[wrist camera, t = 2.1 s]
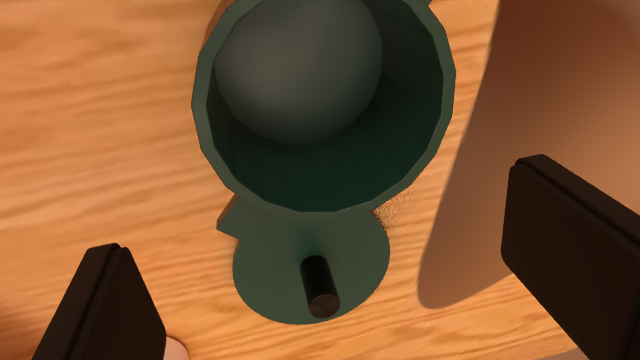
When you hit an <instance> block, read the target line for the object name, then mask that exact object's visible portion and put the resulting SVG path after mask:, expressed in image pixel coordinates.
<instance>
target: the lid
mask: <svg viewBox="0 0 640 360" xmlns="http://www.w3.org/2000/svg"><path fill="white" fill-rule="evenodd" d="M389 257H390V246H389V240H388V237H387V234H386V231H385V230H384V228H383V226H382V224H381V222H380V221H379V220H378V218H377V217H376V216H375V215H374V214H373V213H372V212H371V211H368V212H365V213H362V214H359V215H356V216H353V217H350V218H346V219H343V220H340V221H334V222H295V221H292V220H288V219H285V218H282V217H278V216H275V215H274V216H273V217H272V219H271V220H270V221H269V223H268V224H267V225H266V227H265V228H264V230H263V231H262V232H261V234H260V235H259V236H258V238H257V239H256V240H255V242H254V243H253V244H252V245H250V244H248V243H246V242H244V241H241V240H239V242H238V244H237V247H236V249H235V253H234V257H233V279H234V283H235V287H236V289H237V291H238V293H239V295H240V296H241V298H242V299H243V301H244V302H245V303H246V304H247V305H248V306H249V307H250V308H251V309H252V310H254V311H255V312H256V313H258V314H260V315H261V316H263V317H266V318H268V319H270V320H273V321H277V322H280V323H286V324H296V325H303V324H314V323H320V322H324V321H328V320H331V319H334V318H337V317H339V316H342V315H344V314H346V313H348V312H349V311H351V310H353V309H354V308H356V307H357V306H359V305H360V304H361V303H363V302H364V301H365V300H366V299H367V298H368V297H369V296H370V295H371V294H372V293H373V292H374V291H375V290H376V288H377V287H378V286H379V284H380V283H381V281H382V279H383V277H384V275H385V273H386V270H387V267H388V264H389Z"/></svg>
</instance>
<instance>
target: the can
mask: <svg viewBox="0 0 640 360" xmlns="http://www.w3.org/2000/svg"><path fill="white" fill-rule="evenodd" d="M163 360H188V353H187V350H186V349H185V347H184V346H183V345H182V344H181V343H180V342H178V341H177V340H175V339H173V338H171V337H168V336H166V348H165V353H164V359H163Z"/></svg>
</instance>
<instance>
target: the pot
mask: <svg viewBox="0 0 640 360" xmlns="http://www.w3.org/2000/svg"><path fill="white" fill-rule="evenodd" d="M431 1H432V0H222V1H221V3H220V5H219V6H218V8H217V10H216V12H215V13H214V15H213V17H212V19H211V20H210V22H209V24H208V27H207V30H206V33H205V37H204V40H203V43H202V46H201V49H200V52H199V56H198V61H197V68H196V74H195V81H194V87H193V94H192V100H191V108H192V112H193V117H194V121H195V126H196V130H197V134H198V139H199V143H200V148H201V150H202V152H203V154H204V155H205V157H206V158H207V160H208V161H209V163H210V164H211V166H212V167H213V169H214V170H215V172H216V173H217V175H218V176H219V178H220V179H221V181H222V182H223V184H224V185H225V186H226V187H227V188H228V189H230V190H231V191H233V192H234V193H235V194H234V196H233V197H232V199H231V200H230V202H229V203H228V205H227V206H226V207H225V209H224V210H223V212H222V213H221V215H220V216H219V218H218V219H217V227H216V229H217V230H219V231H221V232H223V233H226V234H228V235H230V236H232V237H235V238H237V239H239V240H241V241H244V242H246V243H248V244H250V245H252V244H253V243H254V242H255V240H256V239H257V238H258V236H259V235H260V234H261V232H262V231H263V230H264V228H265V227H266V225H267V224H268V223H269V221H270V220H271V219H272V217H273V216H274V215H275V216H278V217H282V218H285V219H288V220H292V221H295V222H334V221H340V220H343V219H346V218H350V217H353V216H356V215H359V214H362V213H365V212H368V211H371V210H374V209H376V208H378V207H379V206H381V205H382V204H384V203H385V202H387V201H388V200H390V199H391V198H393V197H394V196H396V195H397V194H399V193H400V192H402V191H403V190H405V189H406V188H407V187H408V186H410V185H411V184H412V183H413V181H414V180H415V179H416V178H417V177H418V176H419V174H420V173H421V172H422V171H423V170H424V168H425V167H426V166H427V165H428V164H429V162H430V161H431V160H432V159H433V158H434V156H435V154H436V153H437V151H438V148H439V146H440V144H441V141H442V139H443V137H444V134H445V132H446V130H447V127H448V125H449V123H450V120H451V118H452V116H451V115H452V113H453V102H454V90H455V79H456V69H455V66H454V62H453V58H452V54H451V50H450V47H449V43H448V39H447V35H446V31H445V29H444V27H443V26H442V24H441V23H440V22H439V20H438V19H437V18H436V16H435V15H434V14H433V12H432V11H431V9H430V8H429V7H428V5H429V4H430V3H431Z"/></svg>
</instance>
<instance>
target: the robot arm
mask: <svg viewBox="0 0 640 360" xmlns="http://www.w3.org/2000/svg"><path fill="white" fill-rule="evenodd" d="M501 255H502V258H503V260H504V262H505V264H506V265H507V266H508V267H509V268H510V270H511V271H512V272H513V273H514V274H515V275H516V276H517V278H518V279H519V280H520V281H521V282H522V283H523V284H524V286H525V287H526V288H527V289H528V290H529V291H530V292H531V294H532V295H533V296H534V297H535V298H536V299H537V300H538V302H539V303H540V304H541V305H542V306H543V307H544V308H545V309H546V311H547V312H548V313H549V314H550V315H551V316H552V317H553V319H554V320H555V321H556V322H557V323H558V324H559V325H560V327H561V328H562V329H563V330H564V331H565V332H566V333H567V334H568V336H569V337H570V338H571V339H572V340H573V341H574V342H575V344H576V345H577V346H578V347H579V348H580V349H581V350H582V352H583V353H584V354H585V355H586V356H587V357H588V358H589V360H640V215H638V214H637V213H635V212H633V211H632V210H630V209H629V208H627V207H626V206H624V205H623V204H621V203H619V202H618V201H616V200H615V199H613V198H612V197H610V196H608V195H607V194H605V193H604V192H602V191H600V190H599V189H598V188H596V187H594V186H593V185H591V184H590V183H588V182H586V181H585V180H584V179H582V178H580V177H579V176H577V175H575V174H574V173H573V172H571V171H569V170H568V169H566V168H565V167H563V166H562V165H560V164H559V163H557V162H555V161H554V160H552V159H551V158H549V157H548V156H546V155H544V154H539V155H534V156H529V157H524V158H519V159H518V160H517V161H516V163H515V165H514V166H512V167H511V168H510V171H509V179H508V188H507V198H506V206H505V216H504V225H503V235H502V244H501ZM165 348H166V331H165V327H164V325H163V323H162V320H161V318H160V316H159V314H158V312H157V309H156V307H155V305H154V303H153V301H152V298H151V296H150V294H149V292H148V290H147V287H146V285H145V283H144V281H143V279H142V276H141V274H140V272H139V270H138V268H137V265H136V263H135V261H134V259H133V257H132V254H131V252H130V250H129V249H128V248H127V247H123V248H121V247H120V246H119V245H118V244H117V243H111V244H107V245H102V246H97V247H92V248H89V249H88V250H87V251H86V253H85V255H84V257H83V259H82V261H81V263H80V265H79V267H78V269H77V271H76V273H75V275H74V277H73V279H72V281H71V283H70V285H69V287H68V289H67V291H66V293H65V295H64V297H63V299H62V301H61V303H60V305H59V307H58V309H57V311H56V313H55V315H54V317H53V319H52V321H51V322H50V324H49V326H48V328H47V330H46V332H45V334H44V336H43V338H42V340H41V342H40V344H39V346H38V348H37V350H36V351H35V353H34V355H33V357H32V359H31V360H163V359H164V353H165Z"/></svg>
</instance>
